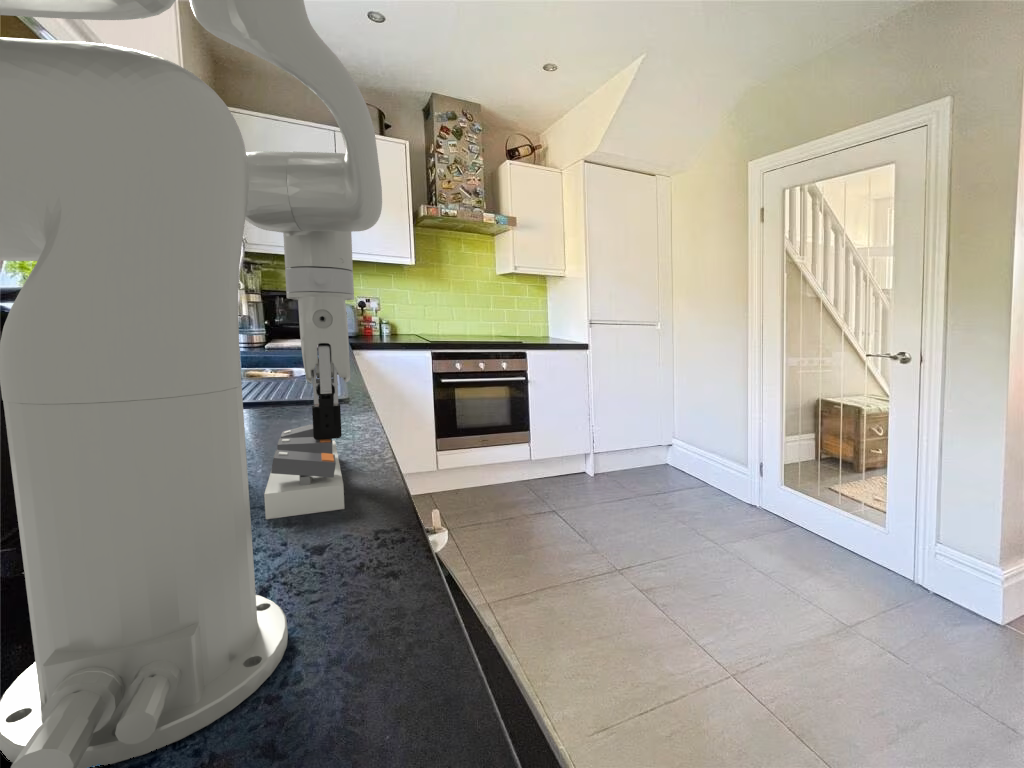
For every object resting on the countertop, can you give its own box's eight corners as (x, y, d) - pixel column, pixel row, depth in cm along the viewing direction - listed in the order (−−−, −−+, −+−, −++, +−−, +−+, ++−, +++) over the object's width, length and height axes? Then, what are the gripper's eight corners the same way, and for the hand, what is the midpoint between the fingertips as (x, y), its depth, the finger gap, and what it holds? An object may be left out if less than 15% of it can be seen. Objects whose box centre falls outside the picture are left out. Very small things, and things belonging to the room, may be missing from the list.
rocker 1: (331, 436, 66) (327, 423, 66) (283, 448, 64) (280, 435, 64) (330, 430, 69) (327, 419, 69) (285, 442, 67) (282, 430, 67)
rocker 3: (333, 477, 51) (336, 461, 51) (270, 473, 49) (273, 456, 49) (332, 468, 55) (334, 453, 55) (273, 464, 52) (276, 448, 52)
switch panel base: (344, 508, 51) (343, 476, 51) (265, 519, 48) (263, 485, 48) (335, 457, 71) (334, 434, 71) (280, 463, 68) (278, 438, 68)
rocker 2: (332, 455, 59) (332, 441, 59) (277, 458, 57) (277, 443, 56) (331, 448, 62) (331, 435, 62) (279, 451, 60) (279, 437, 60)
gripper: (358, 282, 53) (364, 448, 55) (349, 292, 66) (355, 424, 68) (281, 279, 50) (291, 455, 52) (289, 290, 64) (296, 428, 66)
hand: (327, 437), depth 60 cm, fingers closed
